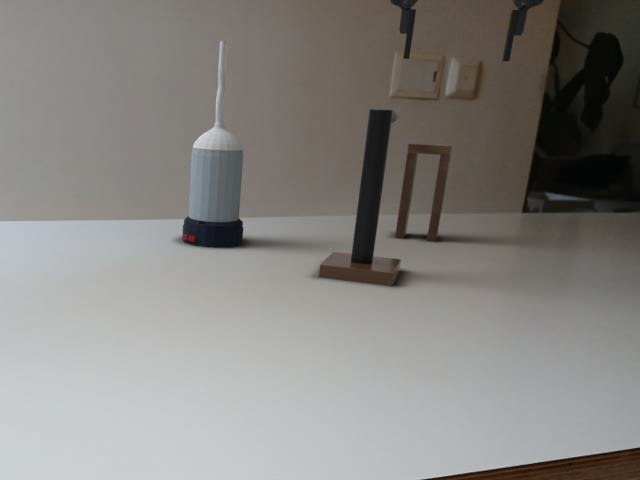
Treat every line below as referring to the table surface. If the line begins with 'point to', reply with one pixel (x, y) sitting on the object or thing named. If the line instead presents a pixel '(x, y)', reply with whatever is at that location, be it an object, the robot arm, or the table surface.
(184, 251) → the table surface
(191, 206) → the humidifier
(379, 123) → the post on base
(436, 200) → the wooden arch frame
